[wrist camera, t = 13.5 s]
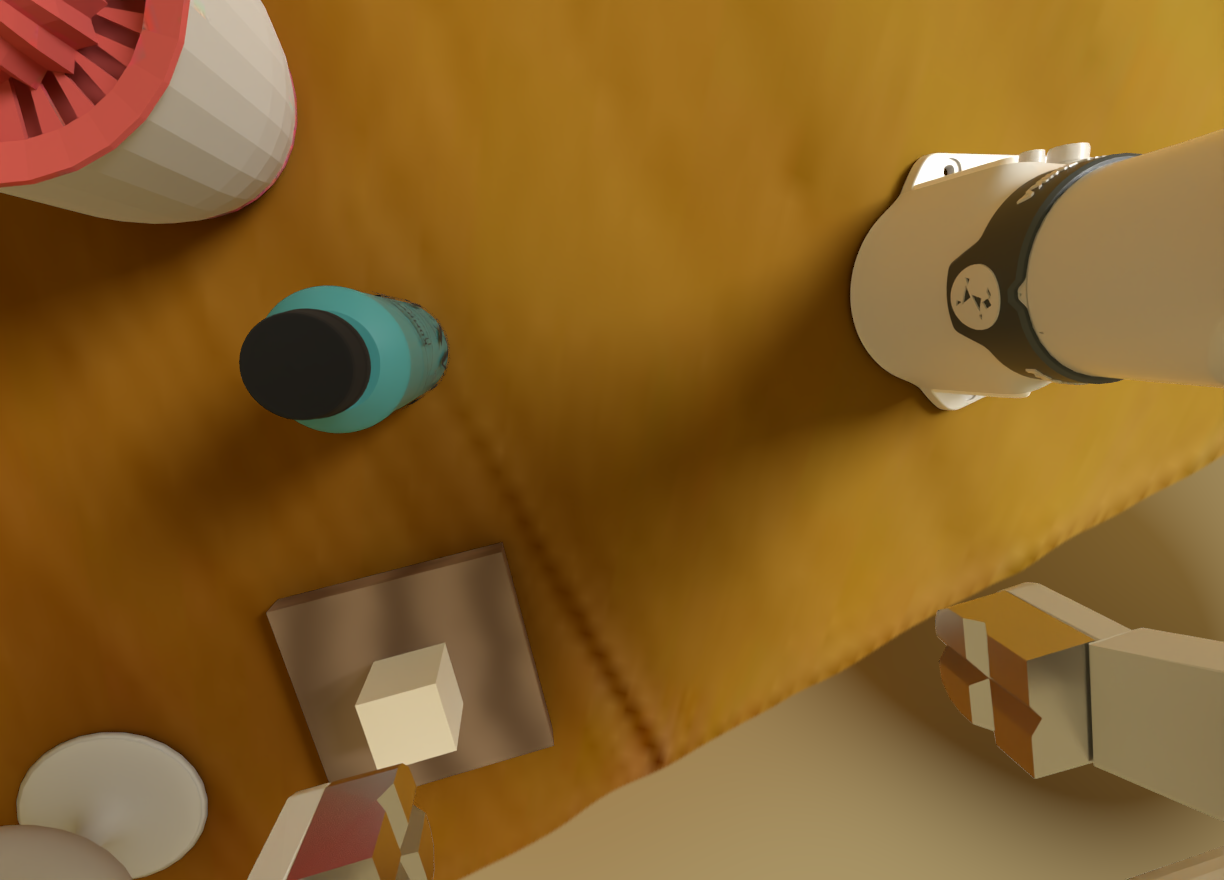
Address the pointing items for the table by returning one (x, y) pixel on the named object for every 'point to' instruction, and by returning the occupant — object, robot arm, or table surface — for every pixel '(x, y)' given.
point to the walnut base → (408, 621)
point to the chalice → (104, 811)
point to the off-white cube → (411, 707)
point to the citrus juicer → (143, 106)
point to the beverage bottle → (342, 358)
